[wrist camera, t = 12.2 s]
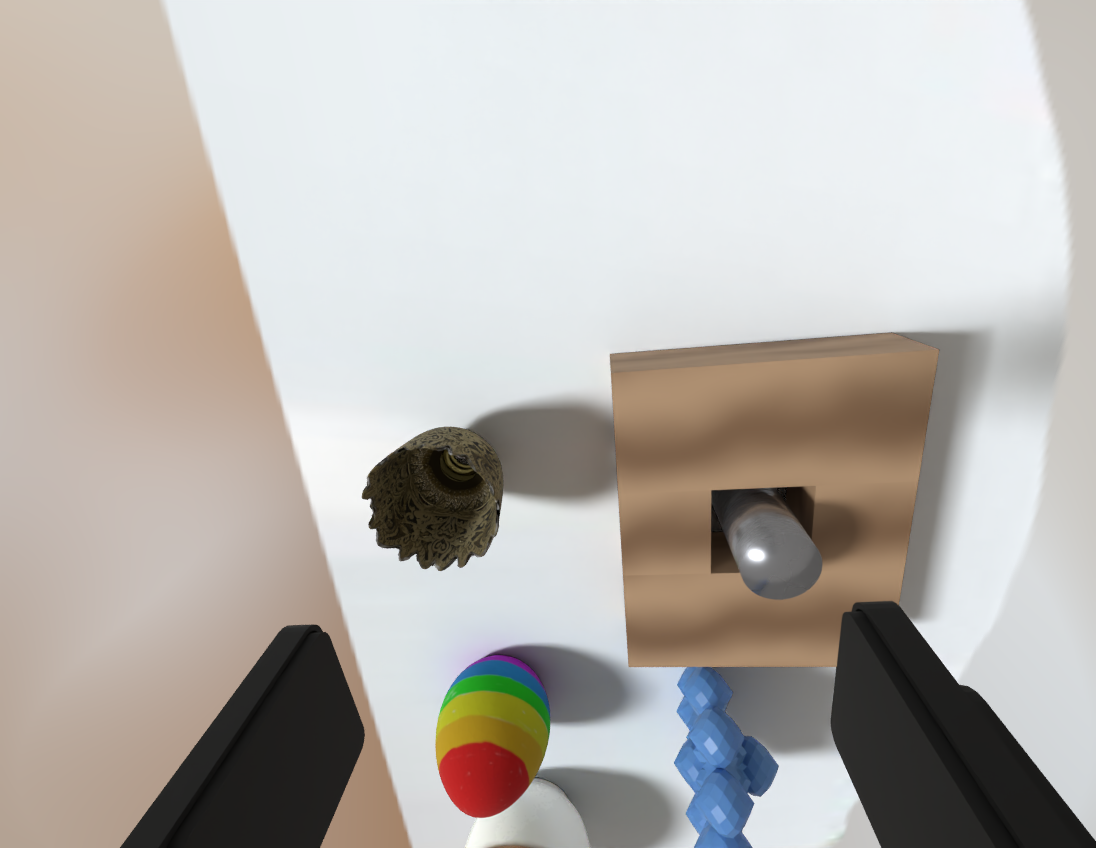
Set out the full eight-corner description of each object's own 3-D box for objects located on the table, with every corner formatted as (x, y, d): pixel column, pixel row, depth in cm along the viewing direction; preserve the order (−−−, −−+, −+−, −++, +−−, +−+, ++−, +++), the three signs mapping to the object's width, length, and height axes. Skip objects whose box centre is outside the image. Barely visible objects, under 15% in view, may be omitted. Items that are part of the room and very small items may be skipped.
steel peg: (710, 467, 34) (741, 535, 26) (775, 464, 33) (825, 532, 26) (710, 521, 35) (739, 600, 28) (772, 519, 34) (819, 598, 27)
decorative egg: (436, 655, 42) (388, 778, 32) (528, 629, 40) (506, 751, 30) (481, 727, 44) (448, 862, 34) (570, 705, 42) (561, 841, 33)
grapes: (750, 747, 42) (804, 937, 30) (664, 744, 42) (686, 929, 31) (758, 631, 38) (824, 800, 27) (663, 630, 38) (688, 795, 27)
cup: (407, 397, 34) (352, 445, 26) (519, 402, 33) (495, 451, 26) (416, 498, 37) (369, 567, 29) (520, 504, 36) (499, 576, 28)
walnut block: (609, 354, 32) (611, 372, 27) (891, 332, 30) (939, 349, 25) (625, 619, 38) (628, 667, 34) (855, 616, 36) (888, 666, 32)
